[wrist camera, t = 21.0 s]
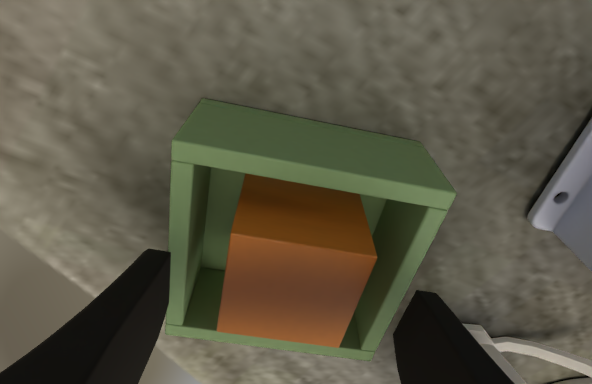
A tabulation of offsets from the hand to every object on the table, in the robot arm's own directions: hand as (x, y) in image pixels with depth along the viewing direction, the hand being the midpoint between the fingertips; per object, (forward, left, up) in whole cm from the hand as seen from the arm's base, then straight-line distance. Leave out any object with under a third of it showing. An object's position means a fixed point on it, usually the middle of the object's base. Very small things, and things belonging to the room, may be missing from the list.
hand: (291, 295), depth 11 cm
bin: (0, 0, -4) cm, 4 cm away
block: (0, 0, -4) cm, 4 cm away
